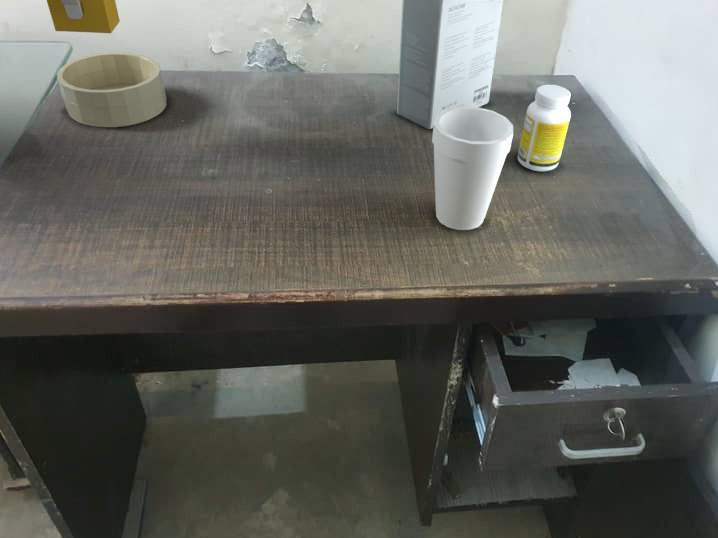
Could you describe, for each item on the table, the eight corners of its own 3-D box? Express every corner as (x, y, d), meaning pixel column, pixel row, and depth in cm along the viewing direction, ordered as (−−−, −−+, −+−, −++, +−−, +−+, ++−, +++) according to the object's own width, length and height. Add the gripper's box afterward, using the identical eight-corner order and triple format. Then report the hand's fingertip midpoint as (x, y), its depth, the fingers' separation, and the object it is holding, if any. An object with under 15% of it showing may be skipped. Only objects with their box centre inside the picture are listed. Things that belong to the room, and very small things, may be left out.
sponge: (55, 31, 82) (41, -19, 78) (66, 19, 86) (53, -29, 82) (111, 33, 83) (99, -16, 79) (119, 21, 86) (109, -27, 82)
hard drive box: (455, 88, 112) (471, -35, 99) (489, 104, 108) (510, -22, 95) (394, 114, 103) (402, -17, 90) (428, 131, 100) (442, -3, 86)
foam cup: (414, 200, 85) (423, 109, 76) (477, 192, 87) (492, 103, 79) (439, 242, 78) (452, 148, 70) (507, 232, 81) (527, 140, 72)
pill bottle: (565, 163, 95) (585, 92, 88) (543, 177, 91) (561, 105, 84) (531, 147, 98) (547, 78, 90) (508, 161, 94) (523, 90, 87)
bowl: (54, 126, 94) (43, 90, 90) (82, 84, 104) (73, 51, 101) (157, 128, 95) (149, 93, 91) (174, 86, 106) (168, 53, 102)
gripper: (52, -133, 81) (82, -17, 90) (-13, -98, 66) (30, 36, 75) (104, -129, 82) (127, -14, 91) (51, -94, 67) (86, 39, 76)
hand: (83, 9), depth 83 cm, fingers closed on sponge, 4 cm apart
